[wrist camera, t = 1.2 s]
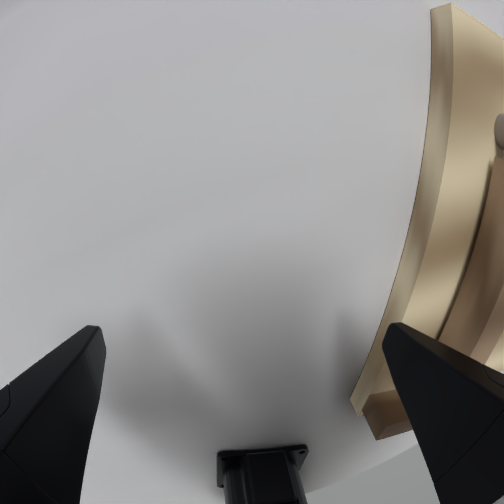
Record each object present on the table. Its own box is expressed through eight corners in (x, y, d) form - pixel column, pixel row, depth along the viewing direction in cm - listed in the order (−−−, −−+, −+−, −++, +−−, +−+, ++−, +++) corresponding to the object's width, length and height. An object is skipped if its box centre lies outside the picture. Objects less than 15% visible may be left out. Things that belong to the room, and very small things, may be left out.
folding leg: (492, 155, 10) (535, 168, 7) (516, 166, 10) (555, 180, 8) (419, 373, 14) (441, 404, 12) (446, 366, 15) (468, 393, 12)
